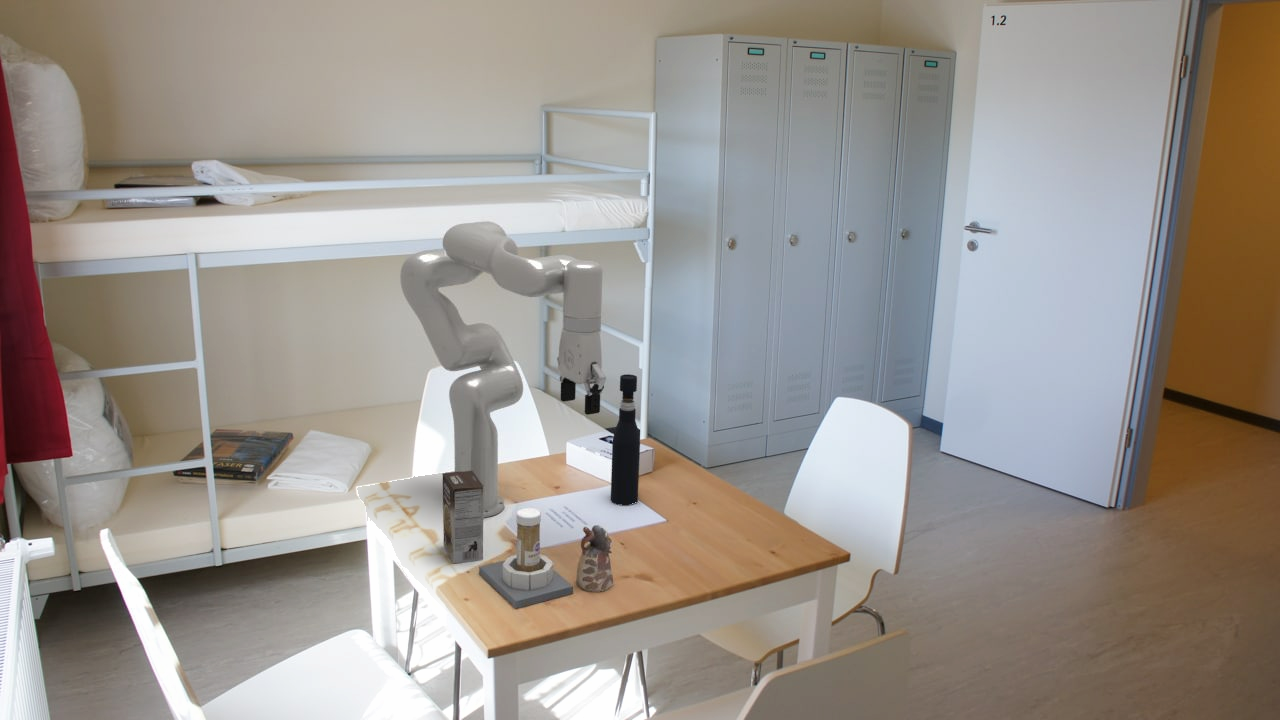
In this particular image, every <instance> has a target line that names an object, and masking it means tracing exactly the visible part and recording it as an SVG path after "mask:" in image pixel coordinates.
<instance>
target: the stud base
mask: <svg viewBox="0 0 1280 720" xmlns="http://www.w3.org/2000/svg"><path fill="white" fill-rule="evenodd" d="M478 574H479V575H480V576H481V577H482V578H483V579H484V580H485V581H486V582H488V584H489V585H490V586H492V587H493V589H494V590H496V591H497V593H498V594H500V595H501V596H502V597H503V598H504V599H505V600H506V602H508V603H509V604H510V605H511V606H512V607H514V609H520V608H524V607H528V606H532V605H536V604H538V603H543V602H545V601H546V602H547V601H551V600H554V599H558V598H562V597H565V596H568V595H569V596H570V595H574V585H573V584H571V583H570V582H569V581H568V580H567V579H566V578H564V577H563V576H561V575H560V574H559V572H557V571H555V569H554V561H552V560H551V559H549V558H548V556H546V555H544V554H540V562H539V570H537V571H533V572H522V571H517V554H514V555H510V556H509V557H507V558H506V559H505V560H501V561H496V562H492V563H488V564H484V565H481V566H480V565H479V566H478Z"/></svg>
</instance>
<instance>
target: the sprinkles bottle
mask: <svg viewBox="0 0 1280 720" xmlns="http://www.w3.org/2000/svg"><path fill="white" fill-rule="evenodd" d="M541 514H542V512H541V511H540V510H539V509H537V508H531V507H530V508H529V507H526V508H521V509H519V510H517V512H516V514H515V515H516V516H515V518H516V519H515V520H516V526H517V527H516V534H517V535H516V555H517V571H522V572H533V571H537V570H539V562H540V555H541V547H540V546H541V544H540V543H541V542H540V541H541V540H540V537H541V536H540V534H541V533H540V531H541V530H540V529H541V527H540V525H541V522H542V521H541V520H542V515H541Z"/></svg>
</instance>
